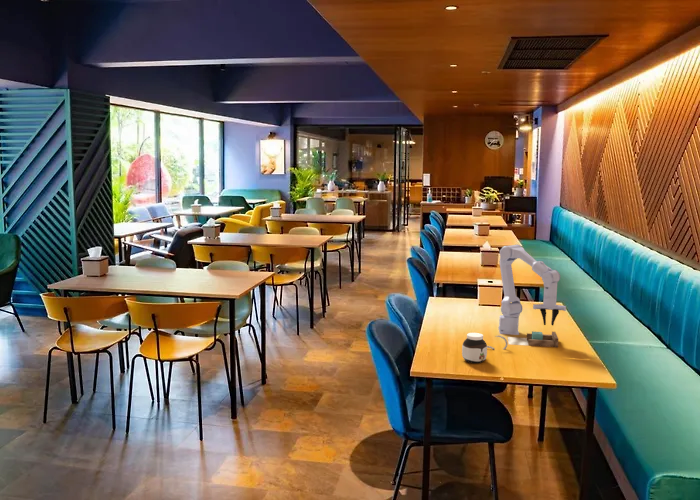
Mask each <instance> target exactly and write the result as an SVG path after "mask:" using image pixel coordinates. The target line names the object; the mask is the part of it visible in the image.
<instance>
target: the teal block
mask: <svg viewBox="0 0 700 500" xmlns="http://www.w3.org/2000/svg"><path fill="white" fill-rule="evenodd" d="M531 334H532V339H537V340H543V334H544V333H543V332H542V331H534V330H533V331H531Z"/></svg>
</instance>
